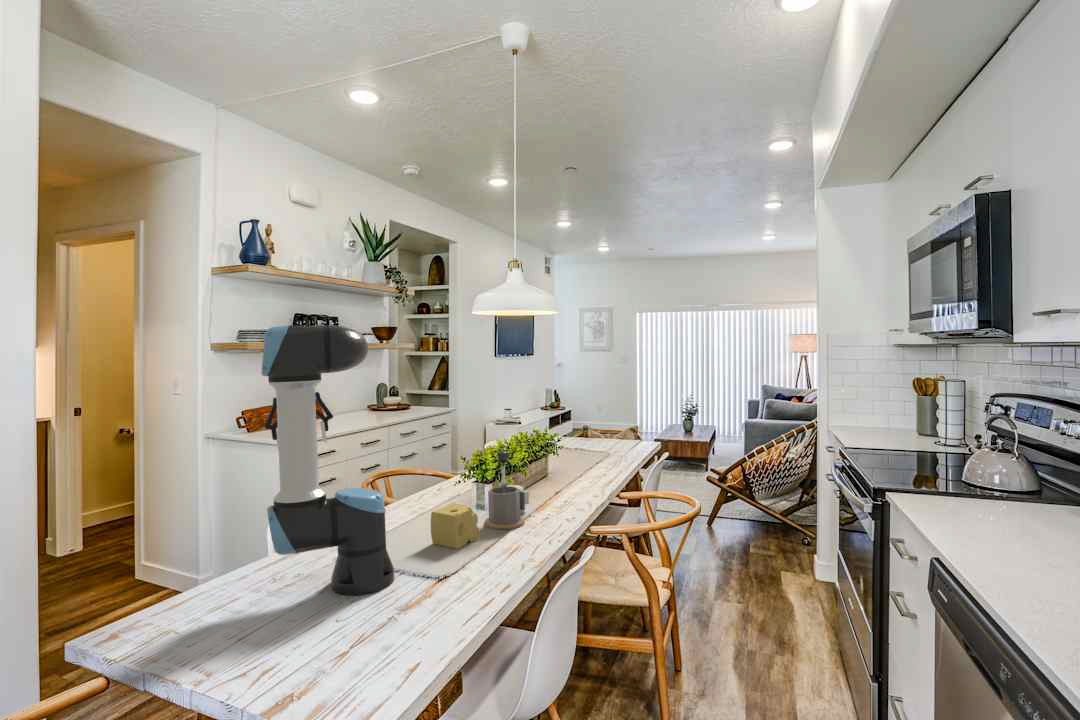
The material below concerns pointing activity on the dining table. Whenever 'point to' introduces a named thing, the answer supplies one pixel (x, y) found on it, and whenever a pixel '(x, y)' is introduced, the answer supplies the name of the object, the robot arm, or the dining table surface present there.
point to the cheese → (454, 526)
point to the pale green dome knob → (524, 496)
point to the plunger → (503, 467)
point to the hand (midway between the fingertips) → (302, 445)
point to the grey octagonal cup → (505, 508)
